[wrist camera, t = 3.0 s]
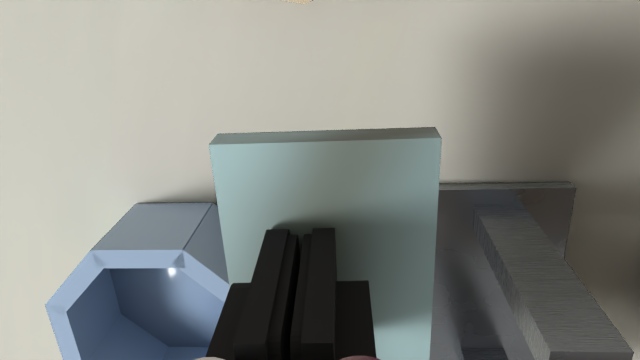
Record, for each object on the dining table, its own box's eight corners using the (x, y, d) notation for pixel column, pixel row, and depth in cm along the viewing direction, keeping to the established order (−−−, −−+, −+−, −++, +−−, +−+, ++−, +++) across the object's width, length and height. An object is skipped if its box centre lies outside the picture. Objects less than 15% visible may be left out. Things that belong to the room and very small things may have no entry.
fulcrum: (731, 179, 19) (1020, 332, 11) (672, 368, 23) (850, 587, 15) (276, 186, 21) (224, 326, 12) (292, 363, 24) (261, 560, 16)
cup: (268, 201, 21) (250, 249, 17) (283, 353, 24) (271, 419, 21) (82, 204, 22) (26, 250, 18) (122, 351, 25) (82, 415, 21)
